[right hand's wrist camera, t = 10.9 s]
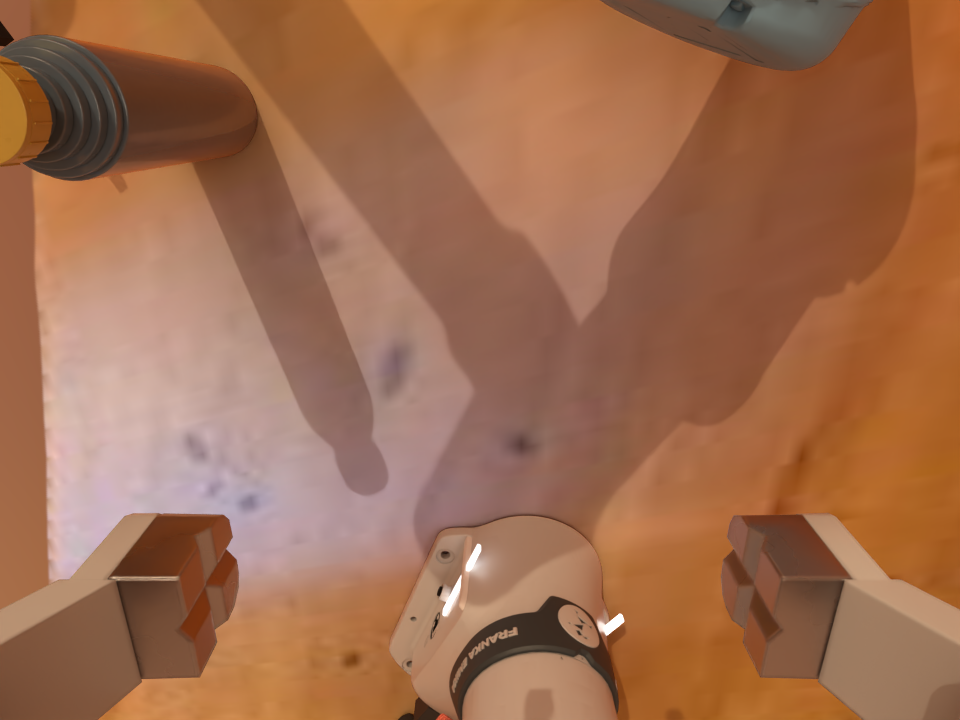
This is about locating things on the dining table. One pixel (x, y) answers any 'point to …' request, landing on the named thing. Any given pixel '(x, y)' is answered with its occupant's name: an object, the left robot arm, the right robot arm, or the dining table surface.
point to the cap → (21, 115)
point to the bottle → (131, 108)
